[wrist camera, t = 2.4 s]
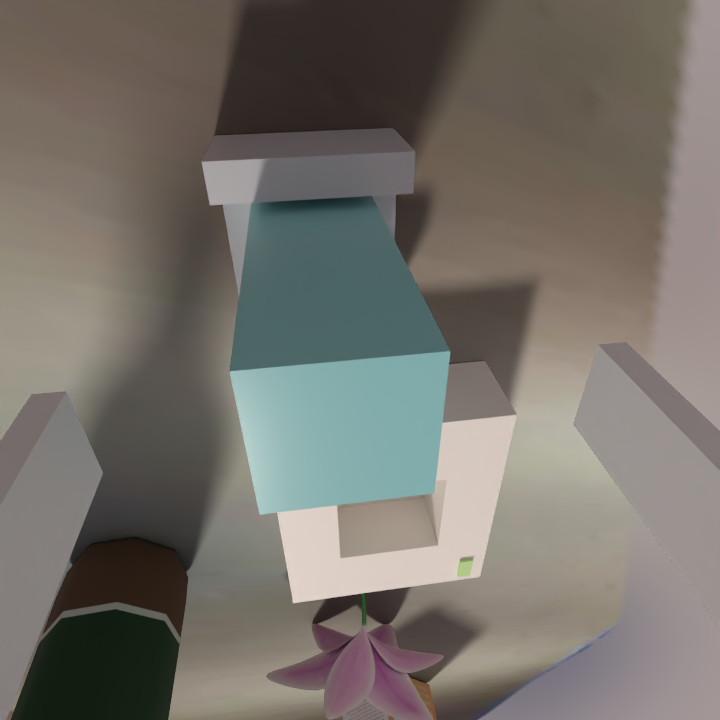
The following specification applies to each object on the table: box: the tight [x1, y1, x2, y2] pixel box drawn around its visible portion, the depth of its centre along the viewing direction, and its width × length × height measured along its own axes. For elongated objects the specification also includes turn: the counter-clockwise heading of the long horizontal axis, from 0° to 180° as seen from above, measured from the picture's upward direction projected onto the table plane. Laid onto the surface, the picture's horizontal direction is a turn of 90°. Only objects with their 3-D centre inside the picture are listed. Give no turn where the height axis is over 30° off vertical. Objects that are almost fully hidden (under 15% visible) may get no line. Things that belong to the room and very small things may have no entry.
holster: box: [202, 128, 415, 294], centre depth 20 cm, size 8×7×4 cm
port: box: [277, 361, 517, 603], centre depth 29 cm, size 14×12×5 cm
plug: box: [230, 196, 450, 515], centre depth 16 cm, size 4×4×12 cm
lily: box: [266, 593, 444, 720], centre depth 37 cm, size 12×12×10 cm
